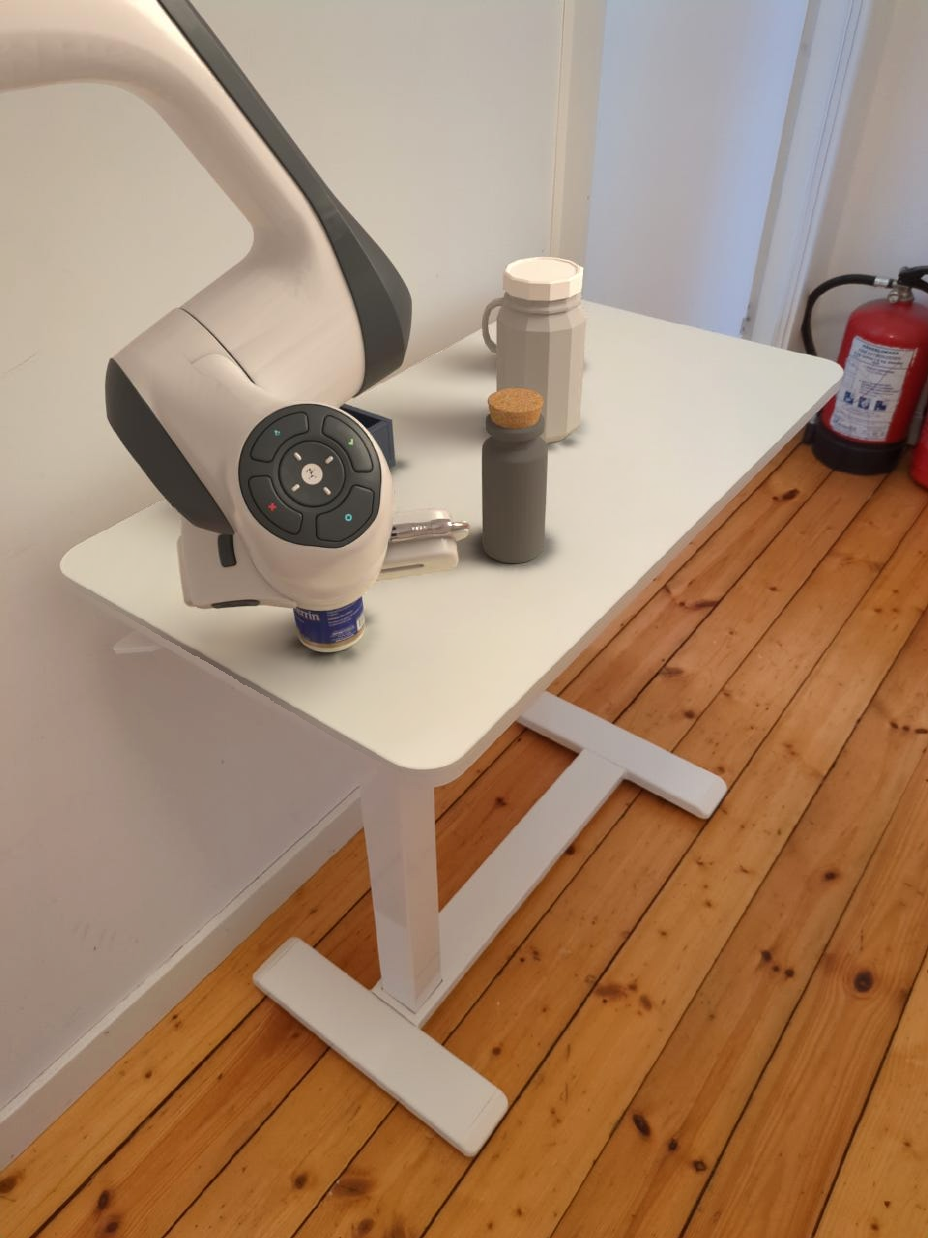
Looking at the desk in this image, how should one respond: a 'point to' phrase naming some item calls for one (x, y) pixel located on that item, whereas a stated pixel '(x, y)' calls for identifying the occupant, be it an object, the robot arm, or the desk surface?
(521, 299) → the jar
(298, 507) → the robot arm
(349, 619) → the pill bottle
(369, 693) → the desk surface
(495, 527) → the bottle
